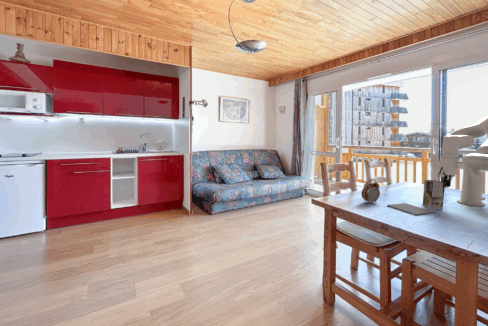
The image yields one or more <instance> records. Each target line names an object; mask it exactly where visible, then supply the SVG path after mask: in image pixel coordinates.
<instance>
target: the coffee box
mask: <svg viewBox="0 0 488 326" xmlns="http://www.w3.org/2000/svg"><path fill="white" fill-rule="evenodd" d="M423 181H424V182H423V192H422V193H423V194H422V196H423V197H422V206H424V207H426V208H428V209H430V210H437V211H438V210H440V211H443V209H444V208H443V207H444V198H445V197H444V196H445V189H446V188H445V187H446V186H445V183H444V182H443V181H441V180H436V179H424V180H423Z"/></svg>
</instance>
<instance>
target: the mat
mask: <svg viewBox="0 0 488 326" xmlns="http://www.w3.org/2000/svg"><path fill="white" fill-rule="evenodd" d="M386 207H389V208H392V209H394V210H397V211H401V212H404V213H407V214H409V215H413V216H423V215H424V216H425V215H433V214H436V211H433V210H431V209H430V210H429V209H427V208H423V207H419V206H416V205H412V204H410V203H405V202H404V203H403V202H402V203H394V204H387V205H386Z"/></svg>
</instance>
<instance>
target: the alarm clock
mask: <svg viewBox="0 0 488 326" xmlns="http://www.w3.org/2000/svg"><path fill="white" fill-rule="evenodd" d="M370 181H374V182H373V183H369V182H370ZM379 188H380V184H379V183H378V181H376V179H375V180H374V179H369V180H367V182H365V183H364V184H363V189H362V190H361V197H362V199H363V200H364V203H366V202H367V203H369V202H370V203H377V201H378V199H380V194H381V191H380V189H379Z"/></svg>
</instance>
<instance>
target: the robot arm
mask: <svg viewBox="0 0 488 326" xmlns="http://www.w3.org/2000/svg"><path fill="white" fill-rule="evenodd" d="M485 135H486V140H485V141H483V142H482V143H481V144H480V145H479V146H478V147H477V149H476V150H475V151H474V152H475V153H468V154H466V155H464V156H463V157H462V163H461V164H462V170H463V171H462V183H461V191H460V198H458V199H456V202H457V203H459V204H461V205H468V206H475V207H483V206H486V203H485V202H483V201H486V199H487V198H486V197H485V196H483V193H484V183H485V175H484V172H482V171H488V115H487V116H484V117H482V118H481V119H480V120H478V121H477V122H474V123H473V124H471V125H469V126H465V127H462V128H459V129H456V130H454V131H452V132H450V133H448V134H447V135H444V136H443V138H442V147H441V156H440V159H439V161H438V167H437V174H438V175H439V177H440V178H442V182H444V183H445V187H446V188H447V187H448V188H449V187H451V184H452V181H453V178H455V177H456V175H457V174H458V171H459V169H458V168H459V162H458V161H459V151H460V149H468V148H471V147H473V146H474V145H475V139H476V138H481V137H483V136H485Z"/></svg>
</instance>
